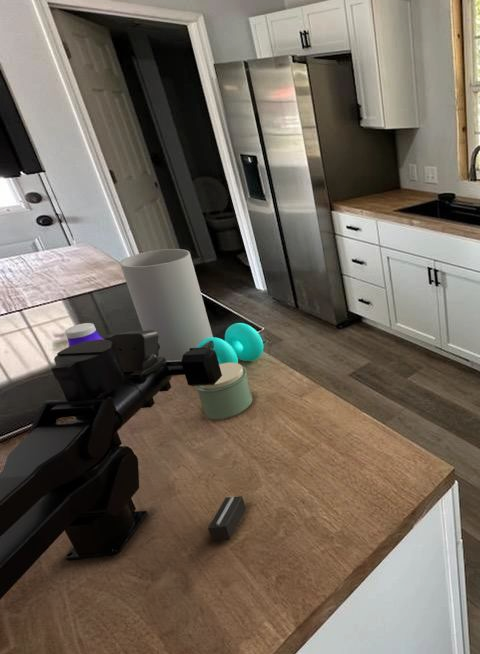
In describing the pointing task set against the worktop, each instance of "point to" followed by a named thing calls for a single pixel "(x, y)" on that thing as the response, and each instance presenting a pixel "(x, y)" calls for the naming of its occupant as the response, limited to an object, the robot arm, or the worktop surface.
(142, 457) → the worktop surface
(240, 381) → the green lidded jar
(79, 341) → the bottle
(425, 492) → the worktop surface
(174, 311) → the cylinder vase
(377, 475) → the worktop surface
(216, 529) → the clip
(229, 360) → the cyan spool
